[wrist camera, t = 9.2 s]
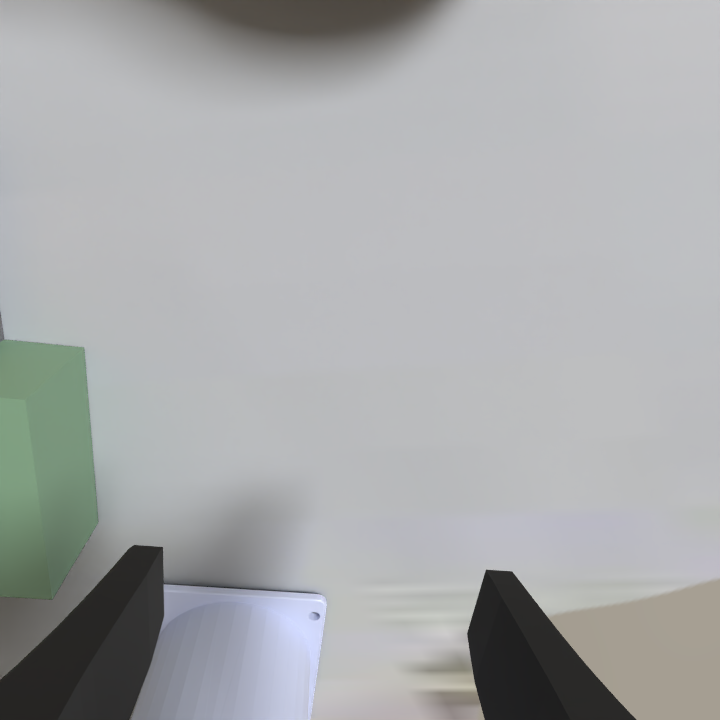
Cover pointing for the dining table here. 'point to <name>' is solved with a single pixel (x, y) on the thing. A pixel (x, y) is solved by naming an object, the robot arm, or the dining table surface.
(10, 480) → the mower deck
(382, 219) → the dining table surface
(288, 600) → the robot arm
